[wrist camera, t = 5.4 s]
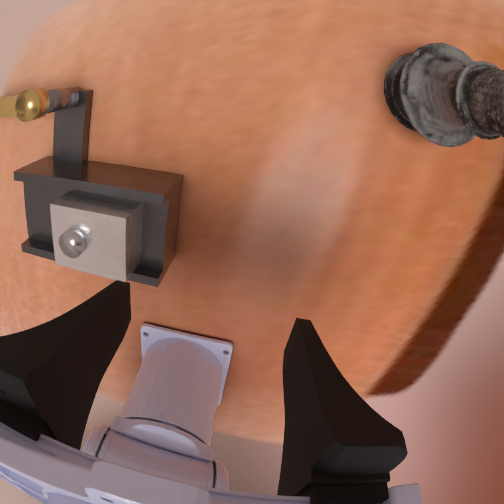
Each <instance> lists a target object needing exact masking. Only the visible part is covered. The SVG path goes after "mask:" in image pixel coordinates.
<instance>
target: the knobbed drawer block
mask: <svg viewBox="0 0 504 504" xmlns="http://www.w3.org/2000/svg"><path fill="white" fill-rule="evenodd" d="M143 206H144V202H143V201H137V200H132V199H126V198H120V197H115V196H109V195H103V194H97V193H91V192H85V191H79V190H73V189H72V190H71V191H69V192H67V193H66V194H64V195H63V196H61V197H60V198H58V199H57V200H55V201H53V202H52V203H50V213H51V225H52V236H53V245H54V254H55V261H56V264H57V265H61V266H64V267H68V268H71V269H75V270H79V271H82V272H86V273H90V274H94V275H98V276H101V277H105V278H109V279H113V280H119V281H123V282H127V280H128V279H129V278H130V276H131V275H132V273H133V272H134V270H135V269H136V267H137V266H138V264H139V263H140V261H141V252H142V225H143Z"/></svg>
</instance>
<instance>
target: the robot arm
mask: <svg viewBox="0 0 504 504" xmlns="http://www.w3.org/2000/svg"><path fill="white" fill-rule="evenodd" d="M130 320H131V305H130V283H127V282H123V281H119V280H116V281H115V282H113V283H112V284H110V285H109V286H107V287H106V288H104V289H103V290H101V291H100V292H99V293H97V294H96V295H94V296H93V297H91V298H90V299H88V300H87V301H85V302H83V303H82V304H80V305H78V306H77V307H75V308H73V309H72V310H70V311H68V312H67V313H65V314H63V315H61V316H59V317H57V318H55V319H53V320H51V321H49V322H46V323H44V324H41V325H39V326H36V327H33V328H31V329H28V330H25V331H21V332H18V333H14V334H10V335H6V336H1V337H0V477H1V478H3V479H4V480H6V481H7V482H9V483H10V484H12V485H13V486H15V487H17V488H18V489H20V490H22V491H23V492H25V493H26V494H28V495H30V496H32V497H33V498H35V499H37V500H39V501H41V502H42V503H44V504H423V503H422V497H421V492H420V487H419V484H417V483H415V484H407V485H399V486H394V487H391V488H388V487H387V482H389V481H390V474H389V472H390V471H391V470H393V469H394V468H395V467H396V466H397V465H399V464H400V463H401V462H402V461H403V460H404V459H405V457H406V455H407V449H406V444H405V439H404V436H403V433H402V432H401V431H400V430H399V429H398V428H396V427H394V426H393V425H392V424H391V423H389V422H388V421H386V420H385V419H384V418H382V417H381V416H380V415H379V414H378V413H377V412H375V411H374V410H373V409H372V408H371V407H370V406H369V405H368V404H367V403H366V402H365V401H364V400H363V399H362V398H361V397H360V396H359V395H358V394H357V393H356V392H355V390H354V389H353V388H352V387H351V386H350V384H349V383H348V382H347V381H346V380H345V378H344V377H343V376H342V374H341V373H340V371H339V370H338V368H337V367H336V365H335V364H334V362H333V361H332V359H331V357H330V355H329V354H328V352H327V350H326V349H325V347H324V345H323V343H322V341H321V339H320V338H319V336H318V334H317V332H316V330H315V328H314V326H313V324H312V322H311V321H310V320H305V319H300V318H296V321H295V323H294V326H293V329H292V332H291V334H290V337H289V340H288V342H287V345H286V348H285V350H284V359H283V388H284V406H285V430H284V444H283V454H282V464H281V473H280V480H279V486H278V494H277V495H265V494H255V493H246V492H238V491H231V490H228V488H229V477H228V473H227V471H226V469H225V468H224V465H223V464H222V462H220V461H217V460H214V454H215V447H212V446H210V444H211V438H212V432H213V426H214V420H215V415H216V409H217V406H219V405H220V402H221V398H222V394H223V389H224V385H225V381H226V376H227V372H228V368H229V363H230V359H231V355H232V350H233V345H232V343H230V342H227V341H222V340H217V339H212V338H207V337H203V336H198V335H193V334H189V333H185V332H180V331H176V330H172V329H167V328H163V327H159V326H155V325H151V324H147V323H144V324H142V326H141V328H140V330H141V352H142V363H141V365H140V368H139V370H138V373H137V375H136V377H135V380H134V382H133V385H132V387H131V390H130V392H129V395H128V397H127V400H126V402H125V405H124V407H123V410H122V412H121V415H120V417H119V416H115V418H114V421H113V423H112V426H111V427H110V426H108V425H106V424H102V425H100V426H98V427H96V428H94V429H93V430H92V431H91V432H90V434H89V435H88V437H87V439H86V441H85V443H84V446H83V448H82V451H80V447H81V442H82V438H83V434H84V430H85V427H86V423H87V419H88V416H89V413H90V410H91V407H92V404H93V401H94V398H95V395H96V392H97V390H98V387H99V384H100V382H101V380H102V378H103V375H104V373H105V372H106V370H107V368H108V366H109V364H110V362H111V360H112V359H113V357H114V355H115V353H116V351H117V349H118V348H119V346H120V344H121V342H122V340H123V338H124V336H125V333H126V331H127V328H128V326H129V323H130ZM145 332H146V333H145ZM147 333H148V334H147ZM226 351H228V352H226Z"/></svg>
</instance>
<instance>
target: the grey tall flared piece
mask: <svg viewBox="0 0 504 504" xmlns="http://www.w3.org/2000/svg"><path fill="white" fill-rule="evenodd" d="M384 94H385V98H386V102H387V105H388V106H389V108H390V110H391V112H392V114H393V115H394V116H395V117H396V119H397V120H398V121H399V122H400V123H402V124H403V125H404V126H406V127H407V128H410V129H412V130H415V131H417V132H418V133H419V134H421V135H422V136H423V137H424V138H426V139H427V140H428V141H430V142H433V143H435V144H437V145H440V146H446V147H455V146H460V145H463V144H465V143H467V142H469V141H470V140H472V139H473V138H474V137H475V136H478V137H480V138H482V139H488V140H491V139H497V138H499V137H500V136H502V137H504V70H500V69H499V68H498V67H496V66H495V65H493V64H492V63H488V62H485V61H480V62H474V61H473V60H472V59H471V58H470V57H469V56H468V55H467V54H465V53H464V52H463V51H461V50H460V49H458V48H456V47H454V46H452V45H448V44H444V43H432V44H427V45H425V46H422V47H420V48H418V49H417V50H416V51H415V52H413V53H408V54H405V55H403V56H401V57H398V58H397V59H396V60H395V61H394V62H393V63H392V64H391V66H390V67H389V69H388V71H387V73H386V77H385V81H384Z"/></svg>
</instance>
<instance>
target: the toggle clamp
mask: <svg viewBox="0 0 504 504" xmlns="http://www.w3.org/2000/svg"><path fill="white" fill-rule="evenodd" d="M46 92H47V93H48V95H49V98H50V105H49V109H48V111H47V113H50V112H54V111H55V119H54V142H53V157H49V156H47V157H45V158H42V159H40V160H38V161H36V162H33V163H31V164H29V165H27V166H25V167H22V168H20V169H18V170H16V171H14V180H16V181H23V182H24V197H25V209H26V219H27V227H28V235H29V238H28V239H27V240H26V241H25V242H23V243H22V244H21V246H22V251H23V252H26V253H29V254H33V255H36V256H40V257H43V258H47V259H50V260H54V261H55V254H54V245H53V236H52V225H51V213H50V203H52V202H53V201H55V200H57V199H58V198H60V197H61V196H63V195H64V194H66V193H67V192H69V191H71V190H72V189H73V190H79V191H85V192H91V193H97V194H103V195H109V196H115V197H120V198H126V199H132V200H137V201H143V202H144V206H143V225H142V252H141V261H140V263H139V264H138V266H137V267H136V269H135V270H134V272H133V273H132V275H131V276H130V278H129V279H128V280H131V281H135V282H139V283H143V284H147V285H152V286H156V287H158V286H159V284H160V282H161V281H162V279H163V277H164V275H165V273H166V271H167V269H168V267H169V266H170V264H171V262H172V260H173V258H174V256H175V249H176V238H177V228H178V218H179V209H180V200H181V191H182V183H183V175H179V174H173V173H167V172H161V171H155V170H149V169H142V168H136V167H129V166H122V165H115V164H108V163H100V162H92V161H88V140H89V126H90V114H91V103H92V94H93V90H83V89H81V88H79V87H77V88H67V89H57V90H49V91H46Z"/></svg>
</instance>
